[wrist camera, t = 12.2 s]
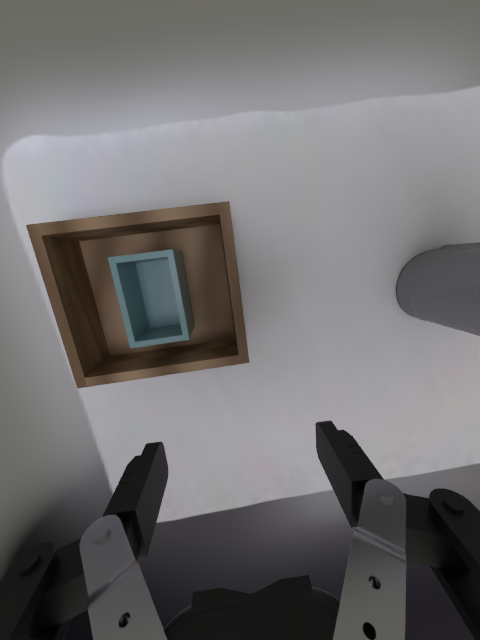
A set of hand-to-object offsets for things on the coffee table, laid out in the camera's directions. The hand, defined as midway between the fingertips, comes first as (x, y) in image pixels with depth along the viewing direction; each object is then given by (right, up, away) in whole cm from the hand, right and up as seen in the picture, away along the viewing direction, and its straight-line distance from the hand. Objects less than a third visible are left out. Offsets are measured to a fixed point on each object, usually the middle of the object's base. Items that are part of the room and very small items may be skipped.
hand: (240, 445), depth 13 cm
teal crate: (-9, +10, +17) cm, 22 cm away
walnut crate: (-9, +10, +18) cm, 23 cm away
